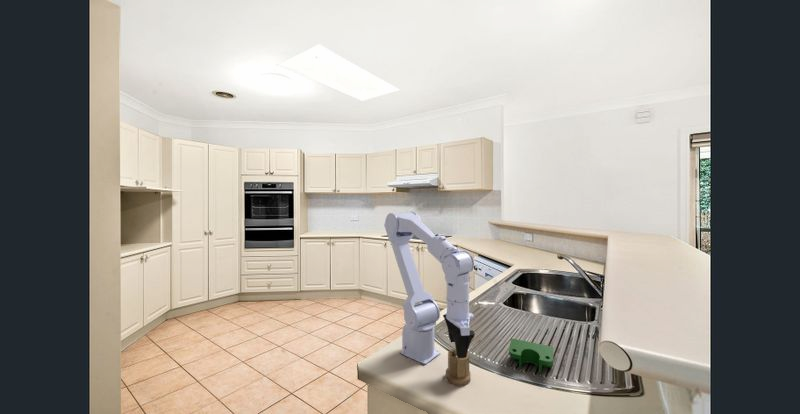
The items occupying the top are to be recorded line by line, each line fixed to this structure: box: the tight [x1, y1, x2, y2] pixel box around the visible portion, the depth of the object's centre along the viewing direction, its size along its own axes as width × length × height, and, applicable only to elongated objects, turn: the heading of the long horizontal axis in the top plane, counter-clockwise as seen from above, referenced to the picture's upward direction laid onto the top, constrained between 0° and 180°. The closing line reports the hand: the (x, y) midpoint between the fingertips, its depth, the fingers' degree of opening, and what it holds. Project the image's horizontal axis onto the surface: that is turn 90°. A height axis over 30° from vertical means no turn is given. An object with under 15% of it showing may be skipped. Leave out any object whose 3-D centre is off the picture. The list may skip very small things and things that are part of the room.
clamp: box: [508, 337, 555, 374], centre depth 85 cm, size 12×6×9 cm, turn 55°
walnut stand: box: [445, 367, 471, 387], centre depth 80 cm, size 6×6×2 cm
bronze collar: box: [447, 348, 470, 379], centre depth 80 cm, size 5×5×5 cm
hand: (457, 349), depth 80 cm, fingers open, 7 cm apart
